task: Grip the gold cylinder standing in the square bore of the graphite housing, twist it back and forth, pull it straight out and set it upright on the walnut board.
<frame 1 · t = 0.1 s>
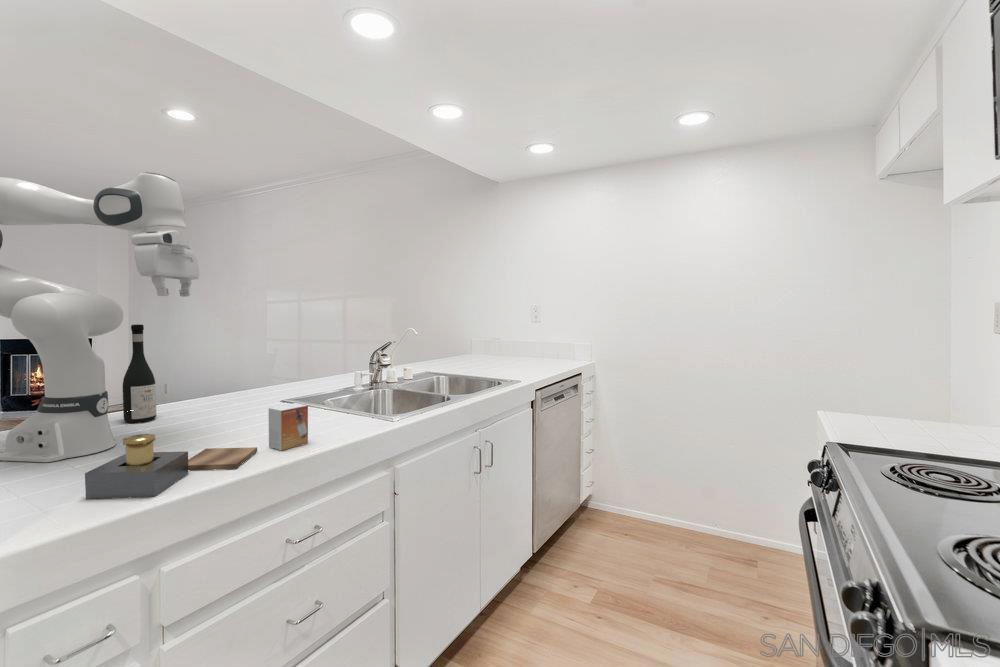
hand: (174, 296, 115), 39 cm above the table, tool pointing down, fingers open, 8 cm apart
small box: (288, 446, 121), on the table
wine bottle: (140, 421, 143), on the table
board: (220, 460, 108), on the table
gold cylinder: (140, 461, 93), in the housing
housing: (140, 485, 93), on the table
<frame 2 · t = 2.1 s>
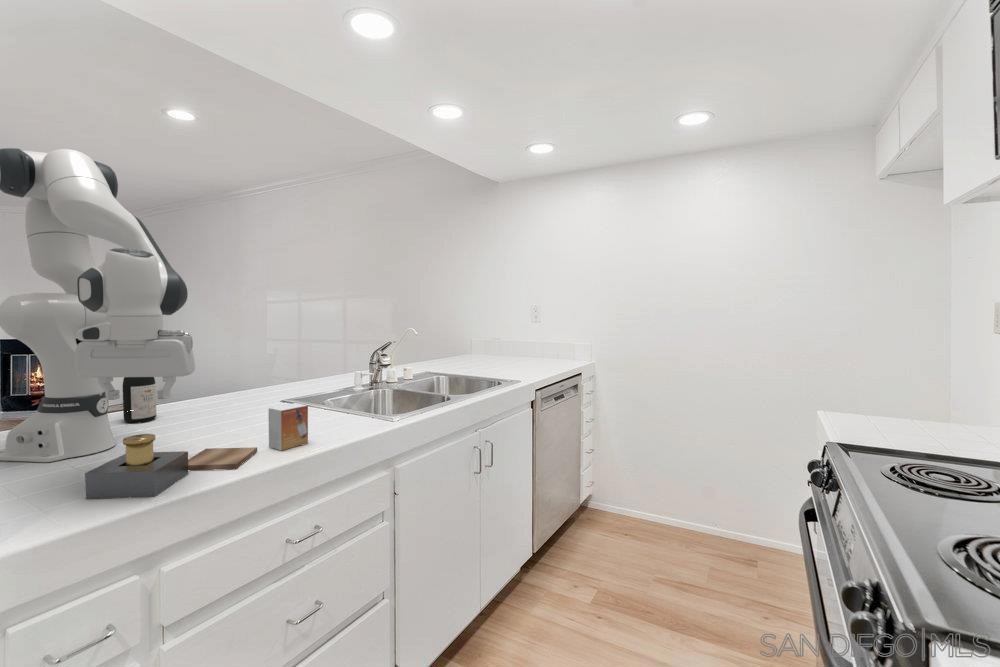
hand: (138, 399, 92), 18 cm above the table, tool pointing down, fingers open, 8 cm apart
nothing on the table moved.
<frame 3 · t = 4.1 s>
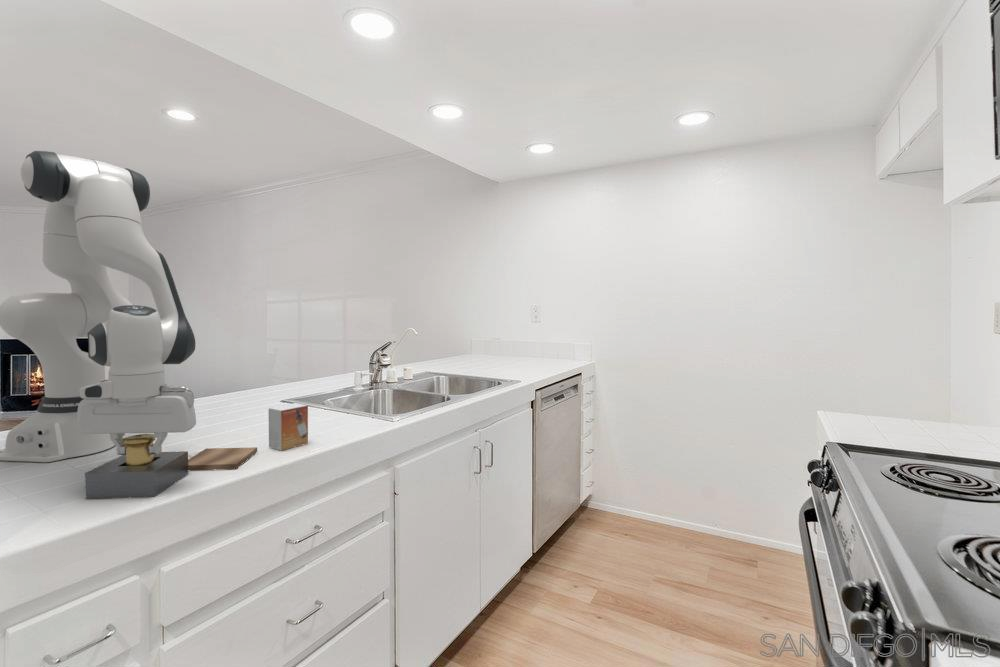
hand: (139, 453, 93), 7 cm above the table, tool pointing down, fingers closed on gold cylinder, 4 cm apart
gold cylinder: (140, 461, 93), in the housing, touching gripper
everything else where it was.
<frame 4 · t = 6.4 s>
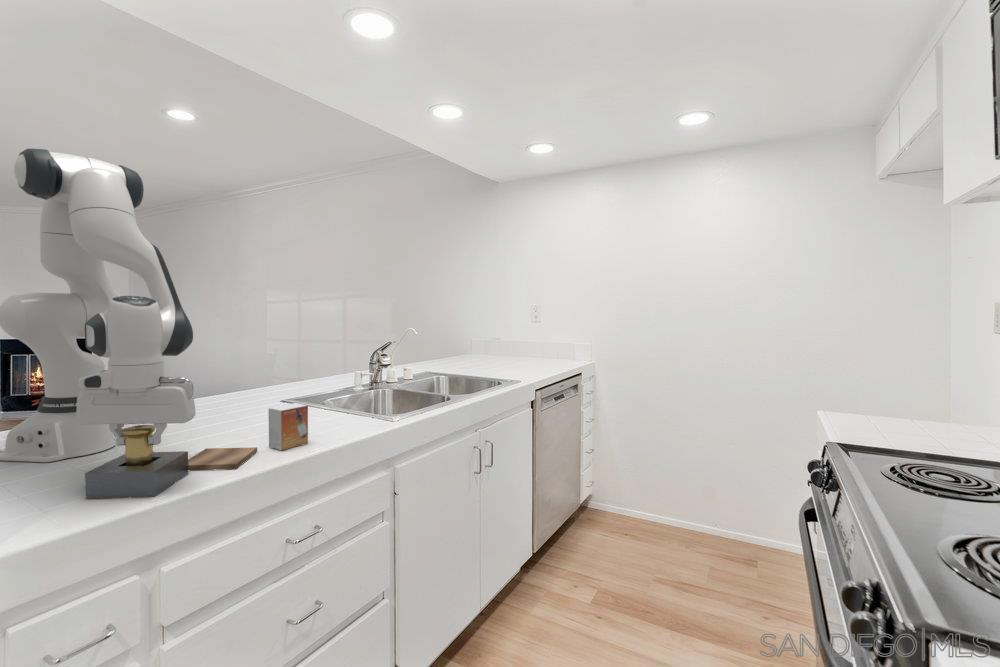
hand: (139, 444, 93), 8 cm above the table, tool pointing down, fingers closed on gold cylinder, 4 cm apart
gold cylinder: (139, 452, 93), point 7 cm above the table, touching gripper
everything else where it was.
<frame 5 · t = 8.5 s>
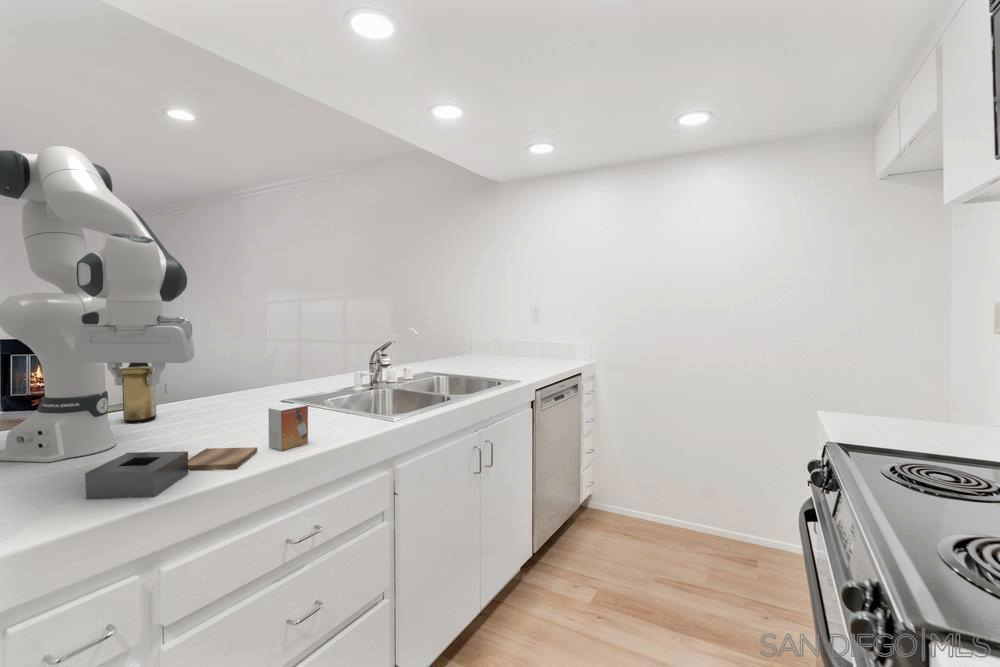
hand: (137, 384, 92), 21 cm above the table, tool pointing down, fingers closed on gold cylinder, 4 cm apart
gold cylinder: (137, 392, 92), point 19 cm above the table, touching gripper
everything else where it was.
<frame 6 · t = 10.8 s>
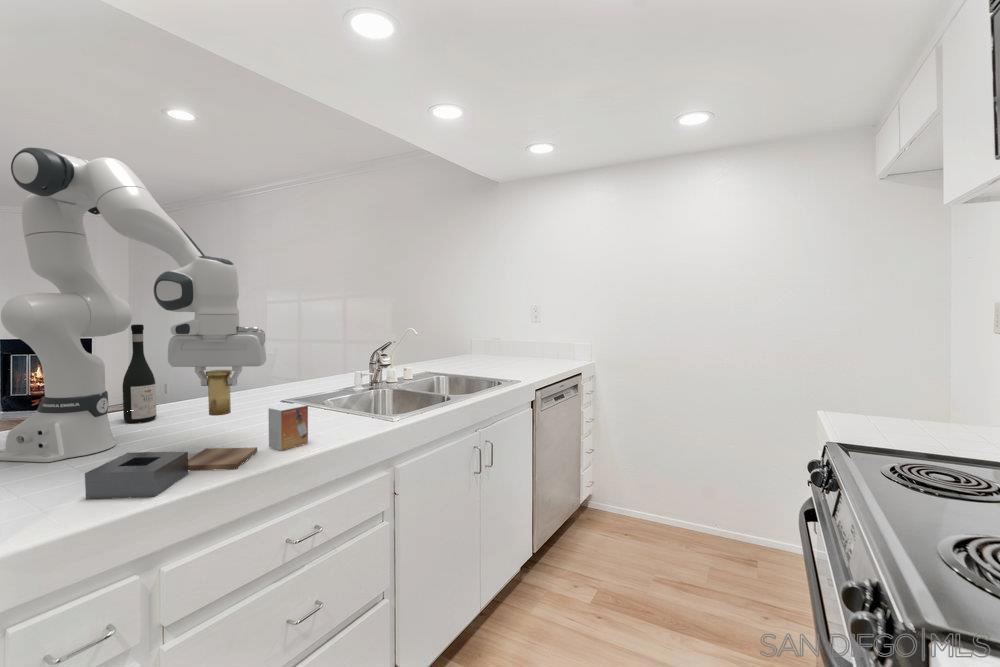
hand: (219, 385, 107), 18 cm above the table, tool pointing down, fingers closed on gold cylinder, 4 cm apart
gold cylinder: (219, 392, 107), point 16 cm above the table, touching gripper
everything else where it was.
when the fingers open (9 cm above the table, at t = 13.1 s): gold cylinder stays where it is, resting on board.
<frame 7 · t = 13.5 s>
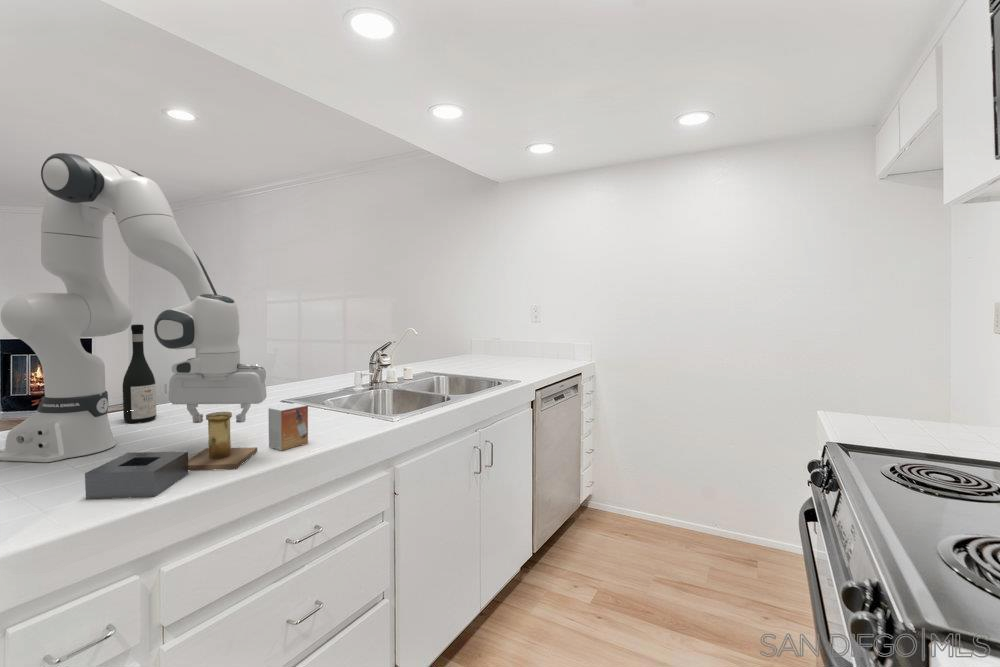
hand: (219, 422, 108), 9 cm above the table, tool pointing down, fingers open, 8 cm apart
gold cylinder: (219, 435, 108), on the board, point 6 cm above the table
everything else where it was.
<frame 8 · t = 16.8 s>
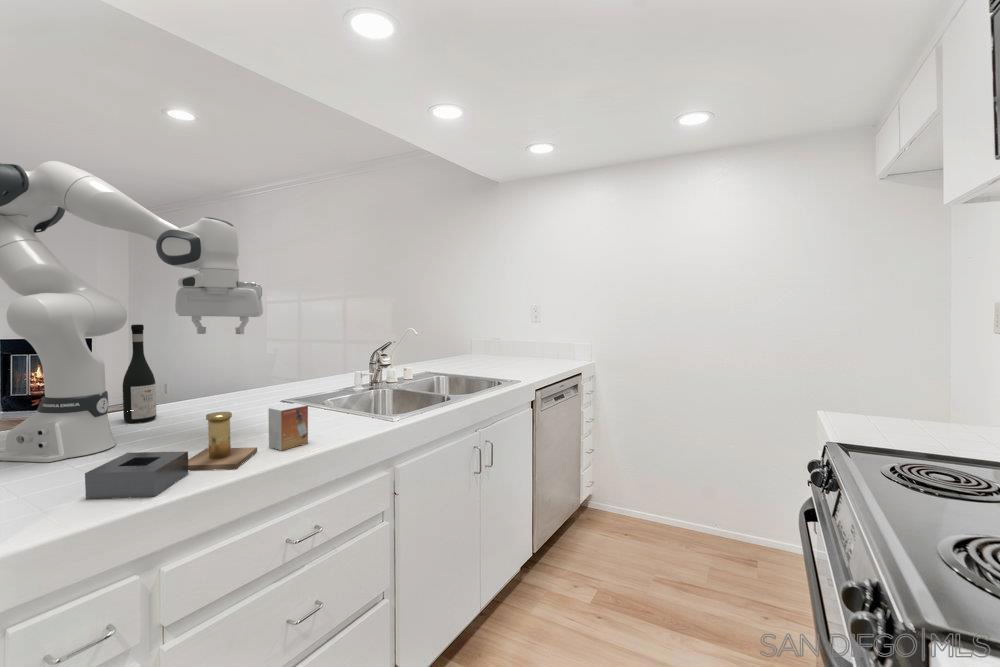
hand: (220, 333, 121), 29 cm above the table, tool pointing down, fingers open, 8 cm apart
nothing on the table moved.
at the end: gold cylinder inside the target area on the board (0.1 cm from its centre), point 6.2 cm above the board's base; gold cylinder tilted 0°; gold cylinder touching board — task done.
